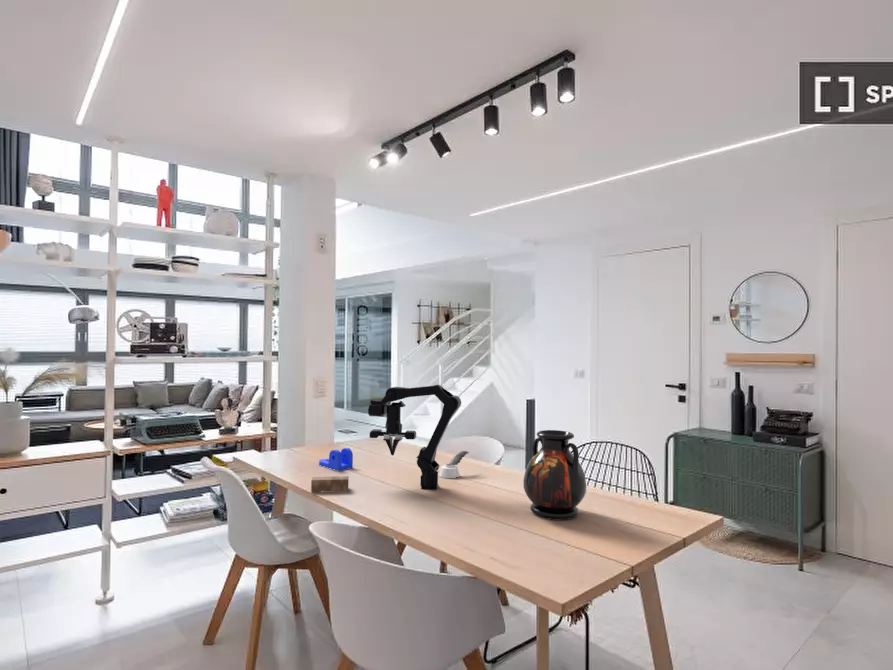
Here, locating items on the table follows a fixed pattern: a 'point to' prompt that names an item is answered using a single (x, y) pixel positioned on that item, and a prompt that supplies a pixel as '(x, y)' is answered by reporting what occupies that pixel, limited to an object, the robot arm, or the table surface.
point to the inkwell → (452, 466)
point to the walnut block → (329, 483)
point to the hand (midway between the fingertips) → (392, 455)
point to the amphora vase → (554, 476)
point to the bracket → (338, 459)
